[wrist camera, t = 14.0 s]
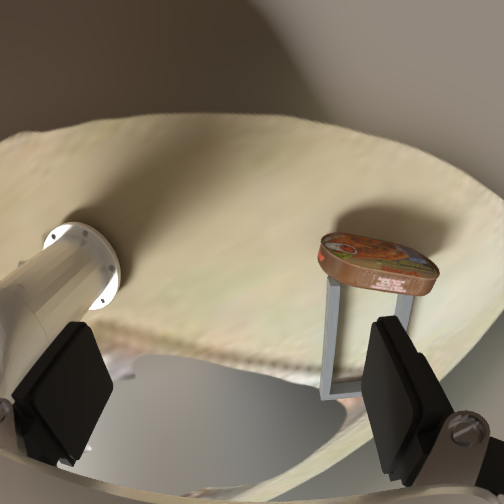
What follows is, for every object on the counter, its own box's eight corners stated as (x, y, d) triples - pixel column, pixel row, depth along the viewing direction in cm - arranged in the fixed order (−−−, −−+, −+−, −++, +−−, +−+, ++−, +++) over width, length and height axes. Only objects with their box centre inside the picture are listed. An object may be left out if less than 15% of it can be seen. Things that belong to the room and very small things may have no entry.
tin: (423, 250, 38) (453, 278, 30) (415, 271, 39) (442, 303, 31) (316, 227, 37) (329, 254, 30) (310, 251, 39) (320, 283, 31)
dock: (319, 389, 47) (321, 400, 45) (327, 277, 40) (330, 286, 37) (386, 381, 46) (390, 392, 44) (409, 272, 39) (416, 280, 37)
